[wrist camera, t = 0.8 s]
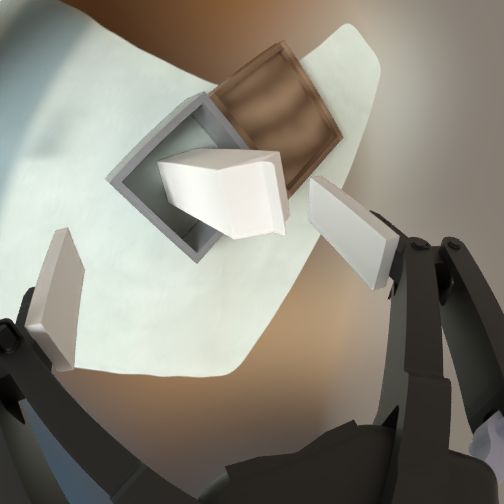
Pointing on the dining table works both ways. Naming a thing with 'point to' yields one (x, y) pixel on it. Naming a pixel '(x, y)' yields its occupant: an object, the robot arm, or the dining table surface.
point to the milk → (229, 189)
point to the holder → (197, 106)
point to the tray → (279, 112)
